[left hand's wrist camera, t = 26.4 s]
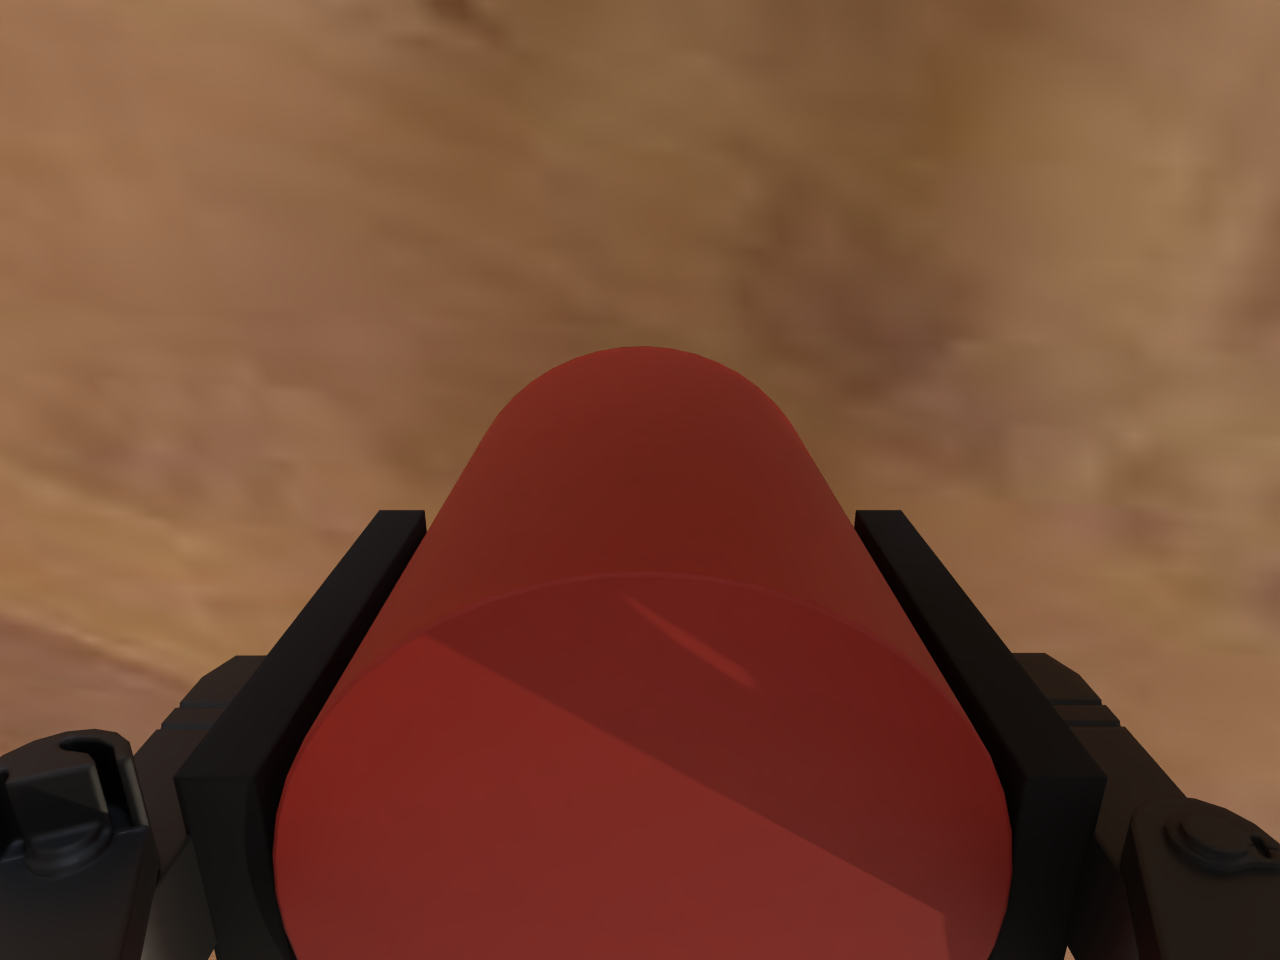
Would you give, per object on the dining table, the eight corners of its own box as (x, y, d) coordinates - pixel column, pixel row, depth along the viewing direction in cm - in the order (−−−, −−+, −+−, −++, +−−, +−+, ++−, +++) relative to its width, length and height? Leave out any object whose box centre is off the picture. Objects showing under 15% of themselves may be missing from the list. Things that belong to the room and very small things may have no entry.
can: (398, 541, 17) (135, 942, 8) (613, 266, 15) (575, 400, 6) (663, 723, 19) (685, 1225, 10) (889, 495, 17) (1172, 861, 8)
